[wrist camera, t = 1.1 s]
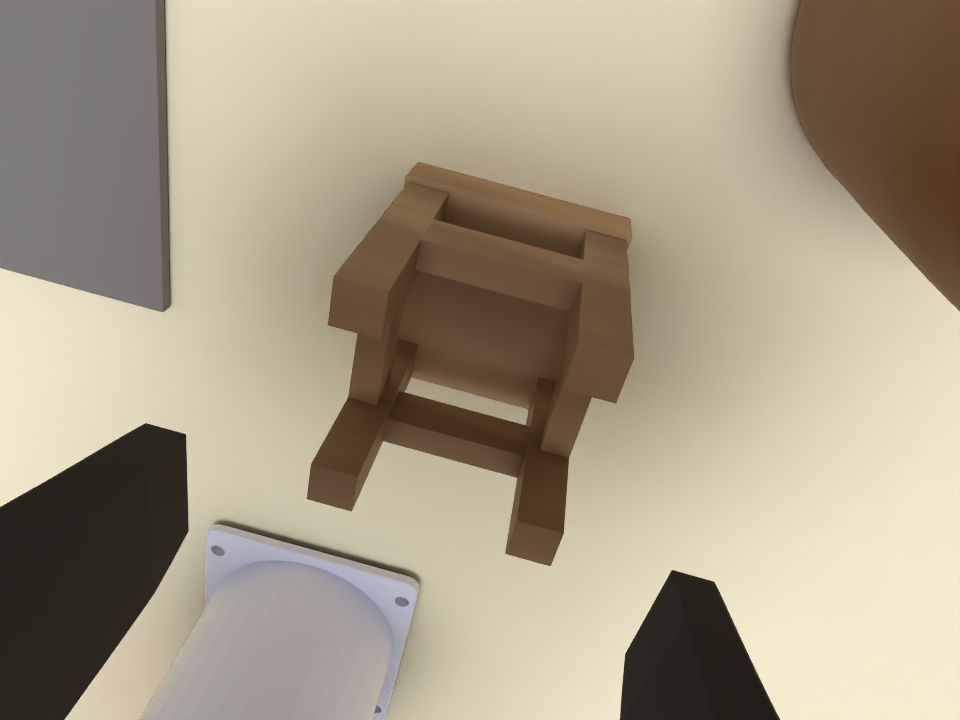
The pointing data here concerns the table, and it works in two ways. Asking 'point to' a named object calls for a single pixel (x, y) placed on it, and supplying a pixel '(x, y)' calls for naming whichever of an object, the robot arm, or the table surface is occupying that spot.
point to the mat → (85, 146)
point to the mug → (888, 117)
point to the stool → (480, 338)
